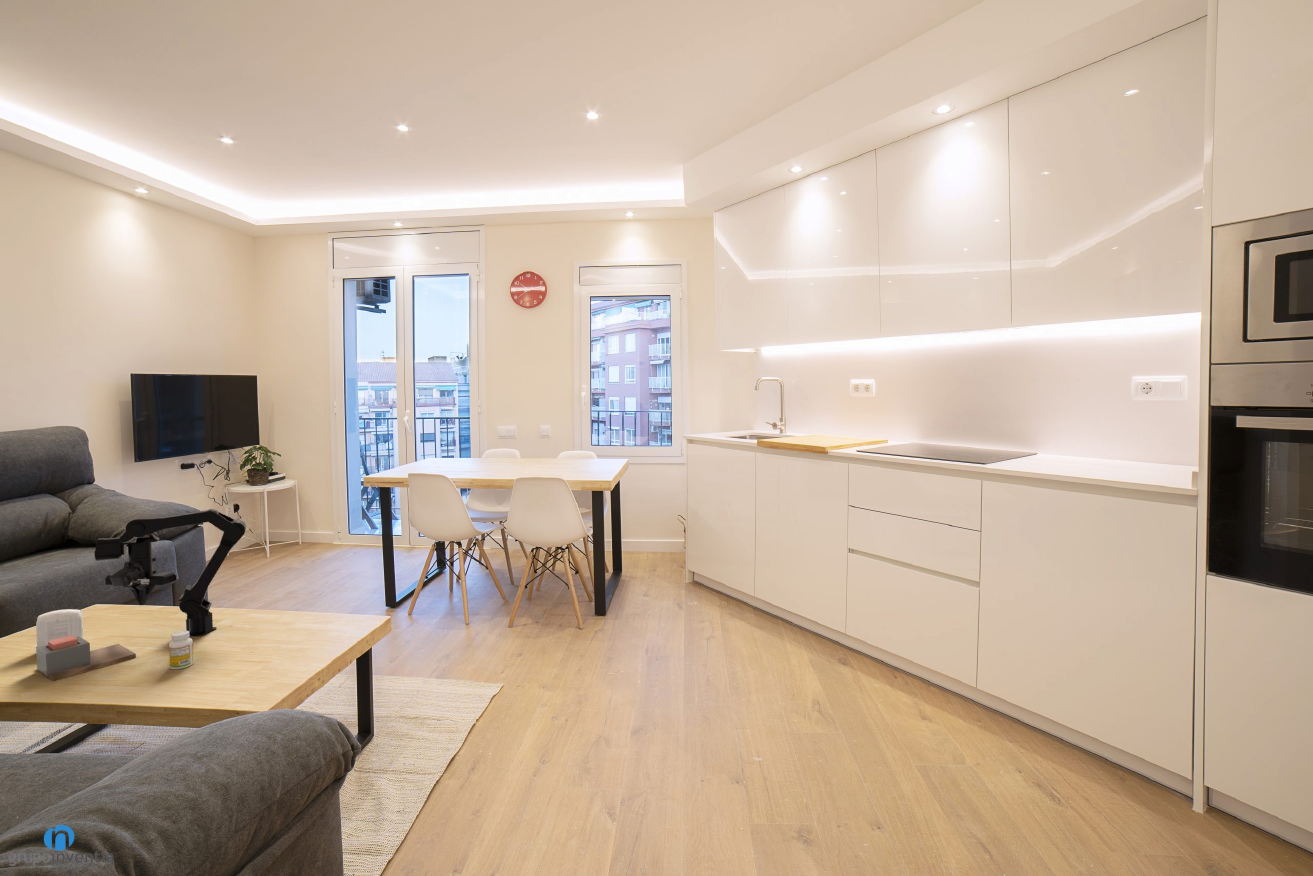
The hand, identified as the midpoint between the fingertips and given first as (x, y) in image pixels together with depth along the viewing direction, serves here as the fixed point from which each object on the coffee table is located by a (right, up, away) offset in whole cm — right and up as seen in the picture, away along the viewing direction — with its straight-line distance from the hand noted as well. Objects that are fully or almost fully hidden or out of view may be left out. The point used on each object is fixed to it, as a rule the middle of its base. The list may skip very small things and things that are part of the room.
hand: (142, 604), depth 189 cm
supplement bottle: (+27, -13, -17) cm, 34 cm away
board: (-2, -13, -15) cm, 20 cm away
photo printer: (-20, -13, -6) cm, 24 cm away
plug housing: (-5, -12, -20) cm, 24 cm away
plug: (-5, -10, -20) cm, 23 cm away
